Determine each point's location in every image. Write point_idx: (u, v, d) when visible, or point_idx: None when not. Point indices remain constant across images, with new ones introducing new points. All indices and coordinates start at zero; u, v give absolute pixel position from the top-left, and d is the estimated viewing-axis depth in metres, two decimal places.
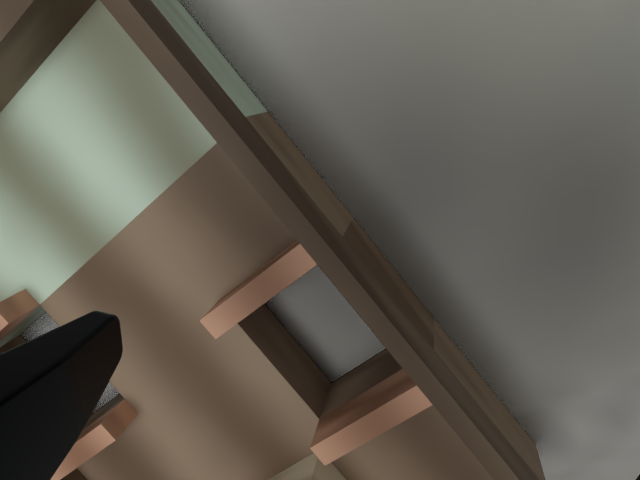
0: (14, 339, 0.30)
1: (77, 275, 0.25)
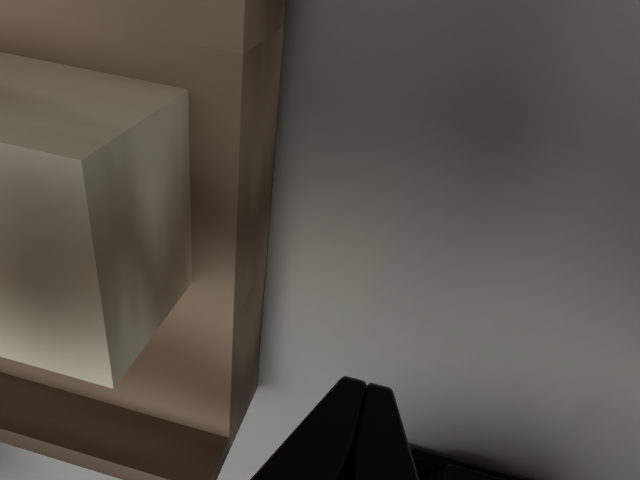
0: None
1: None
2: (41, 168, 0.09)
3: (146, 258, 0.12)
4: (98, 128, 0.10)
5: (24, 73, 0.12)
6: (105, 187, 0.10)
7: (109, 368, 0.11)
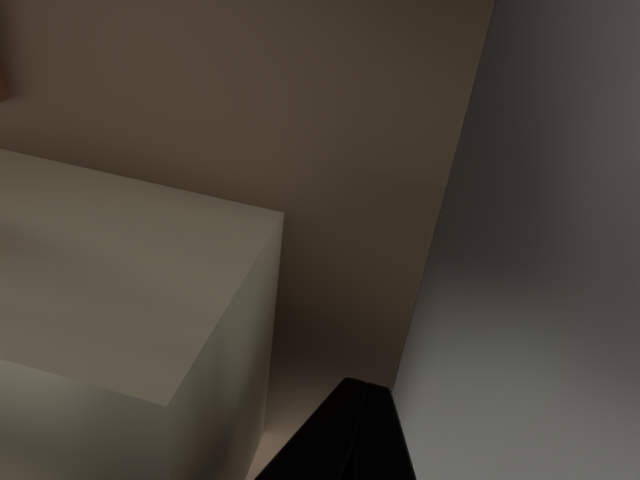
0: None
1: None
2: (95, 408, 0.06)
3: (226, 453, 0.08)
4: (179, 317, 0.06)
5: (55, 195, 0.08)
6: (191, 414, 0.06)
7: None
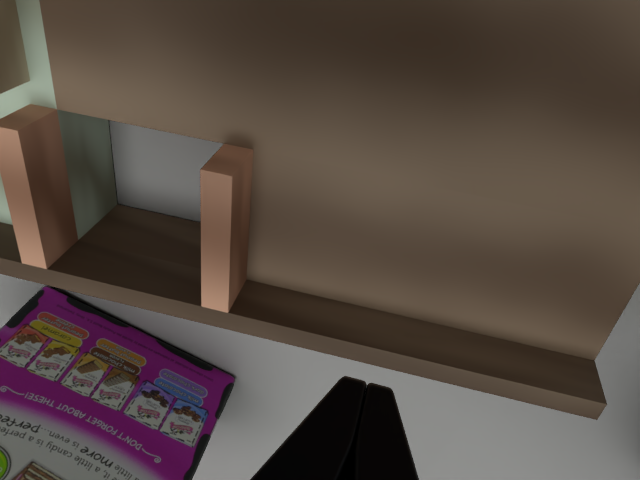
0: (112, 209, 0.23)
1: (48, 25, 0.17)
2: None
3: None
4: None
5: None
6: None
7: None
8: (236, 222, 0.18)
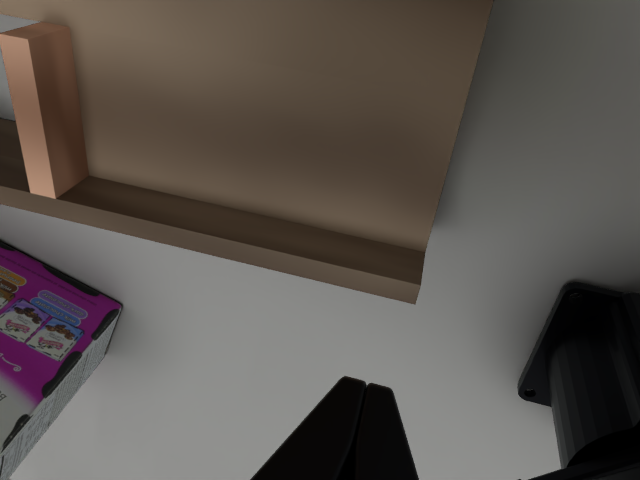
0: None
1: None
2: None
3: None
4: None
5: None
6: None
7: None
8: (50, 98, 0.18)
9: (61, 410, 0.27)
